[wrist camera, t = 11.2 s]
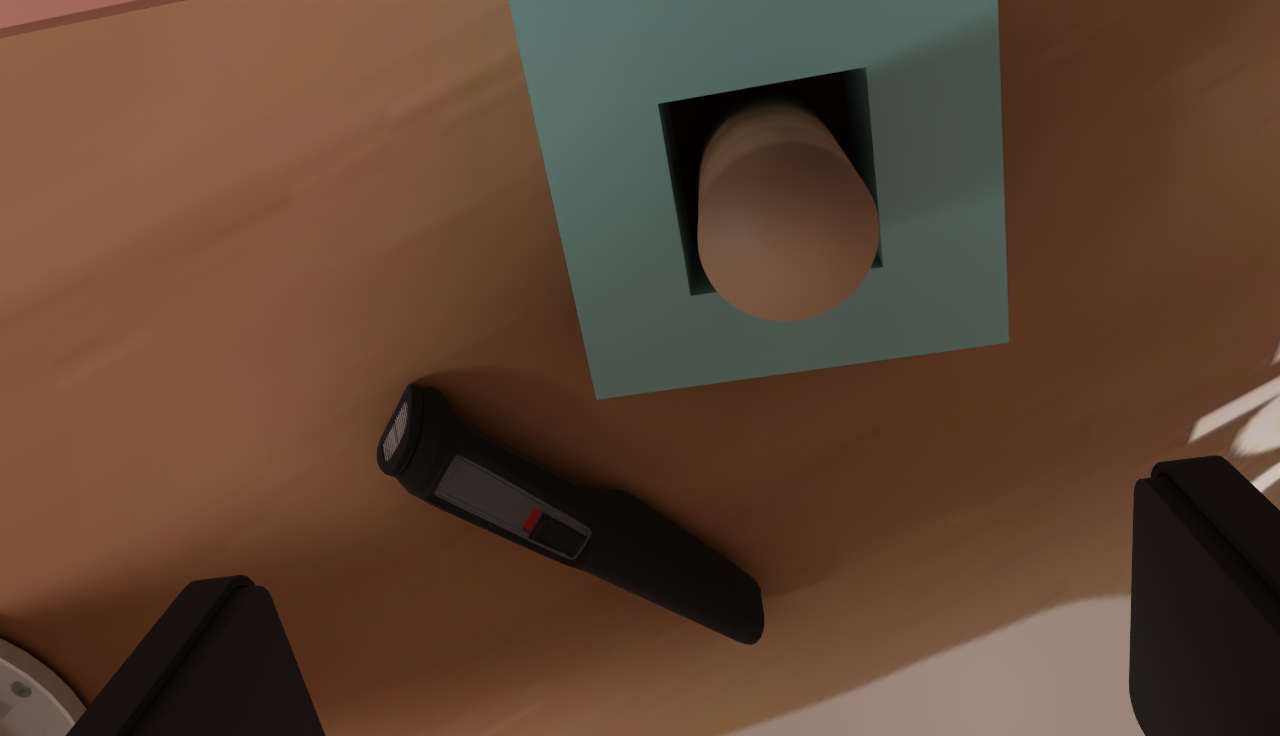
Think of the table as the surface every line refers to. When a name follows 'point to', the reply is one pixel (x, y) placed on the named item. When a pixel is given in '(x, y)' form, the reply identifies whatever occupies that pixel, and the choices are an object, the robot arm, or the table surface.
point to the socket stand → (653, 191)
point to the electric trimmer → (564, 517)
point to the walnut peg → (781, 208)
